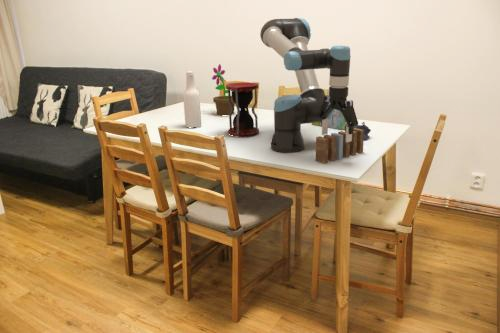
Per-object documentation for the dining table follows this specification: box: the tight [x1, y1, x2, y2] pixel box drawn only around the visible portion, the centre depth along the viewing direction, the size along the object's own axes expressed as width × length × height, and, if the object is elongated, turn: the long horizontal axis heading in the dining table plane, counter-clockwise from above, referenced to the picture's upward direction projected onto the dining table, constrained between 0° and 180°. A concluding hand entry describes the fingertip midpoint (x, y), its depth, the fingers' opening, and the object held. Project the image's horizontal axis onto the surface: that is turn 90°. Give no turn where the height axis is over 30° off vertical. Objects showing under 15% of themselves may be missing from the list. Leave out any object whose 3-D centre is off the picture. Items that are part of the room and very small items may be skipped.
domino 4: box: [337, 130, 350, 158], centre depth 185 cm, size 2×5×10 cm, turn 35°
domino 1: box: [315, 136, 329, 164], centre depth 178 cm, size 2×5×10 cm, turn 35°
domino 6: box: [353, 128, 365, 154], centre depth 190 cm, size 2×5×10 cm, turn 35°
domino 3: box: [330, 132, 343, 160], centre depth 183 cm, size 2×5×10 cm, turn 35°
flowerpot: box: [211, 64, 236, 116], centre depth 267 cm, size 14×14×30 cm
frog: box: [354, 121, 372, 141], centre depth 210 cm, size 10×12×8 cm
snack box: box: [311, 99, 352, 131], centre depth 233 cm, size 21×6×15 cm, turn 47°
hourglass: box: [225, 81, 260, 138], centre depth 223 cm, size 16×16×25 cm
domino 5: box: [344, 130, 357, 156], centre depth 187 cm, size 2×5×10 cm, turn 35°
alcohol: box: [182, 70, 202, 129], centre depth 239 cm, size 9×9×30 cm
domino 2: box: [323, 134, 336, 162], centre depth 180 cm, size 2×5×10 cm, turn 35°
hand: (336, 137), depth 182 cm, fingers open, 13 cm apart
